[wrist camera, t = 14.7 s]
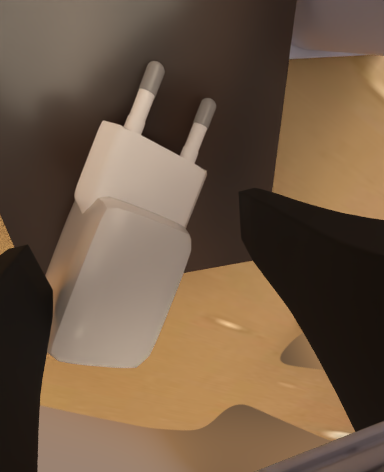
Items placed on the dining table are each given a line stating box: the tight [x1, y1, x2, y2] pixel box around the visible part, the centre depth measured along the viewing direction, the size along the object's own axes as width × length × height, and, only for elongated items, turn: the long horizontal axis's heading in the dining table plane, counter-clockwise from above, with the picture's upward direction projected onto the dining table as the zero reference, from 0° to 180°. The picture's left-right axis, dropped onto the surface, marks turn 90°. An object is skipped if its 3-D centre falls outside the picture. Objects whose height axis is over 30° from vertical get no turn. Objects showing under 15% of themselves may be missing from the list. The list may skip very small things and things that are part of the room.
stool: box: [0, 0, 297, 275], centre depth 17 cm, size 14×14×5 cm
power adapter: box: [45, 61, 216, 368], centre depth 13 cm, size 11×5×6 cm, turn 149°
